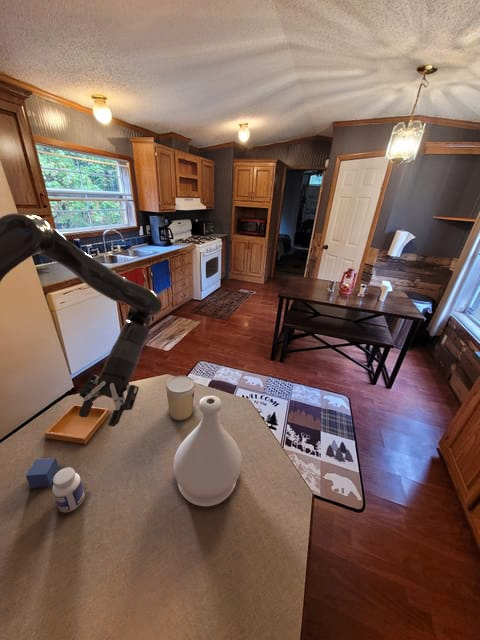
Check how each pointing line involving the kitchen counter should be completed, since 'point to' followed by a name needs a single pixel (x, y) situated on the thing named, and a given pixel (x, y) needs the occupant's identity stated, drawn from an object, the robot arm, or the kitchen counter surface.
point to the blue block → (42, 472)
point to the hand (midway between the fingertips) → (97, 421)
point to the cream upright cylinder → (180, 396)
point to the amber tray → (77, 425)
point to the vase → (207, 459)
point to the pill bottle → (67, 490)
